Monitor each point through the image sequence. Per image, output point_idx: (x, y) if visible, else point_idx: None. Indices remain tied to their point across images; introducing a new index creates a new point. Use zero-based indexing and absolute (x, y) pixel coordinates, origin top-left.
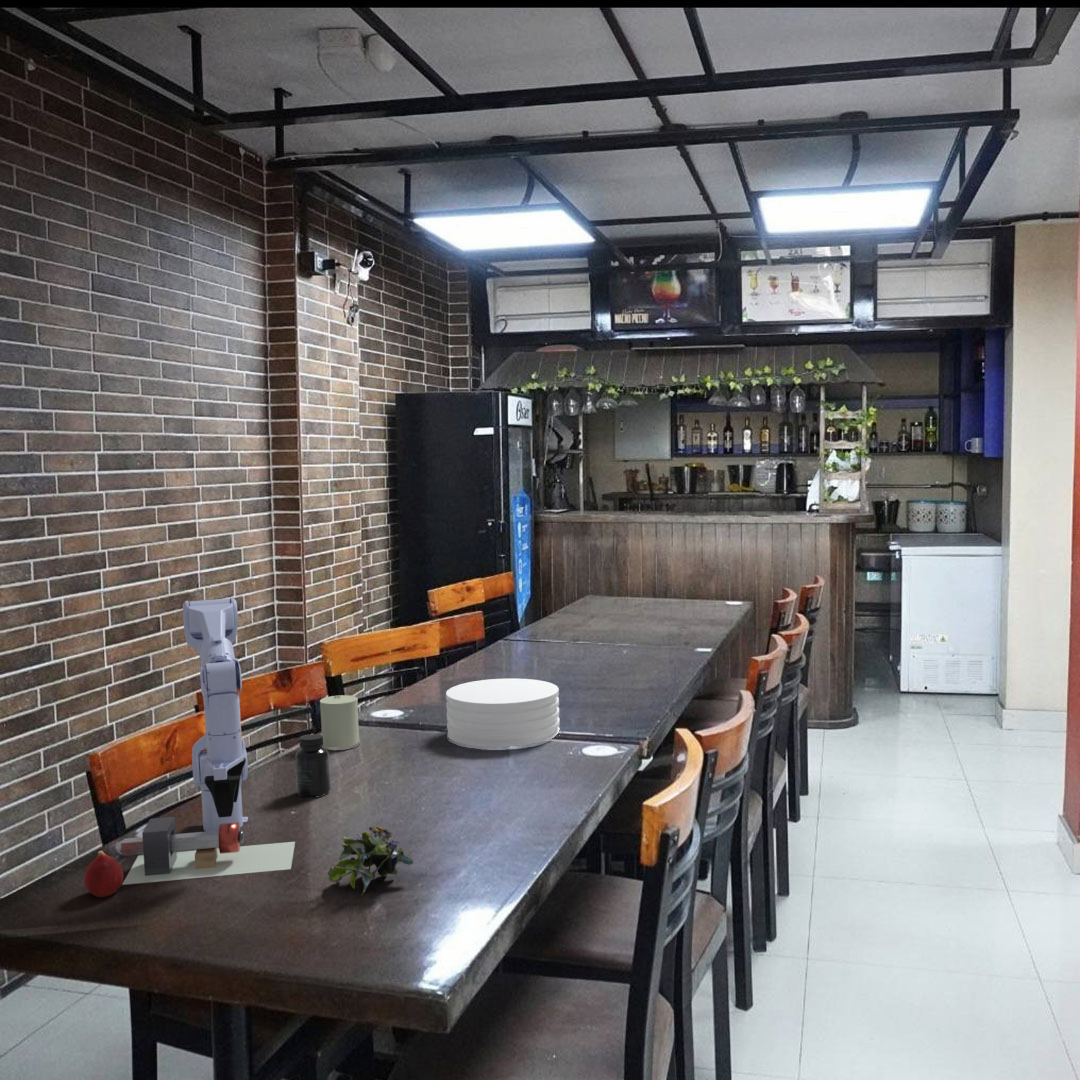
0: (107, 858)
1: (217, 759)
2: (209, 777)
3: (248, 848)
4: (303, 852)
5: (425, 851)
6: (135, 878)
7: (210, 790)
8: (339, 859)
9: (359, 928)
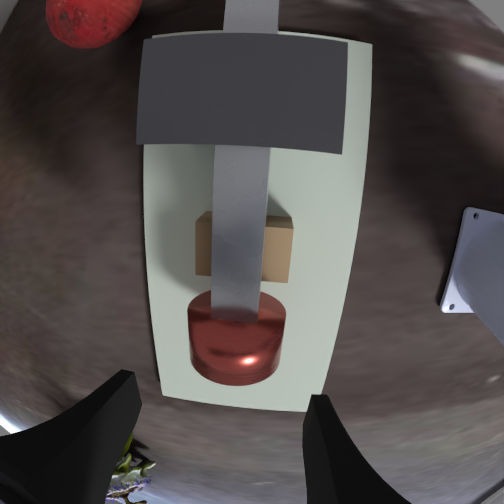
0: (52, 4)
1: None
2: (10, 484)
3: (317, 335)
4: (278, 412)
5: (224, 497)
6: None
7: (22, 432)
8: (128, 453)
9: (24, 401)
